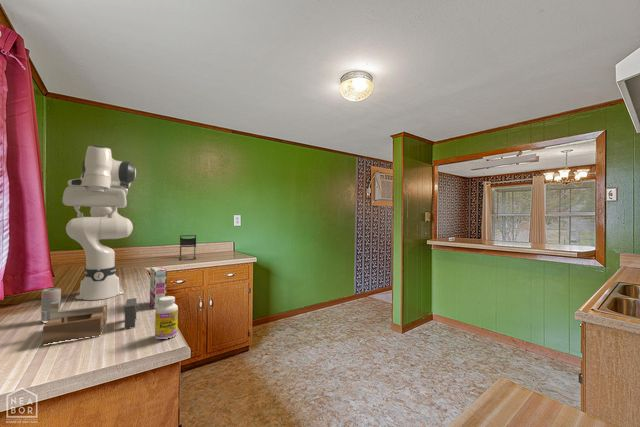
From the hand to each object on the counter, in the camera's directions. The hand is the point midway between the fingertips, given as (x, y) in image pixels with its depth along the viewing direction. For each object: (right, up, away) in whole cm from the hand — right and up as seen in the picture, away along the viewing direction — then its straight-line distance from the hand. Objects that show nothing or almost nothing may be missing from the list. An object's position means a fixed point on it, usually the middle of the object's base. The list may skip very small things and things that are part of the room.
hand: (95, 217), depth 112 cm
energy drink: (-11, -39, -7) cm, 41 cm away
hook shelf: (+7, -39, -16) cm, 43 cm away
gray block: (+20, -39, -8) cm, 45 cm away
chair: (-28, -39, +137) cm, 145 cm away
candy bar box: (+18, -40, +13) cm, 45 cm away
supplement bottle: (+39, -40, -18) cm, 59 cm away
